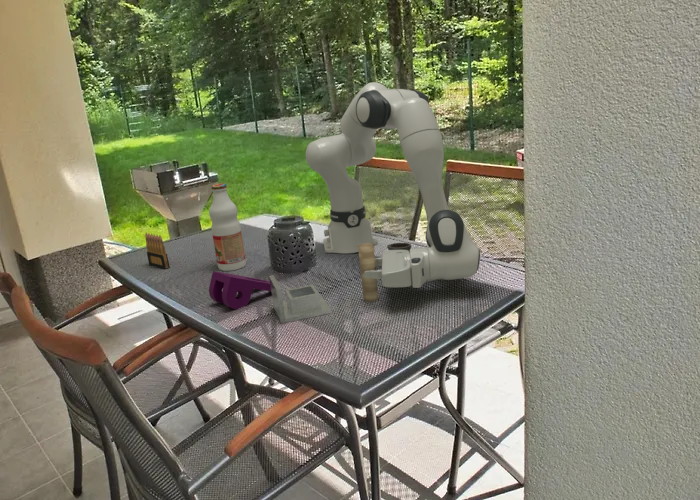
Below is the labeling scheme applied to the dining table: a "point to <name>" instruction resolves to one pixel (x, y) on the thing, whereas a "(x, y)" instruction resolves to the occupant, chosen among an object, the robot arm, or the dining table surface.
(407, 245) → the pipe
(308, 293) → the cup bracket
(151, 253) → the ammunition clip
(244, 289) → the mounting bracket
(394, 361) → the dining table surface
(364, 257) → the tan wooden cylinder
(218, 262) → the fruit juice
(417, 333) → the dining table surface
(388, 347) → the dining table surface
